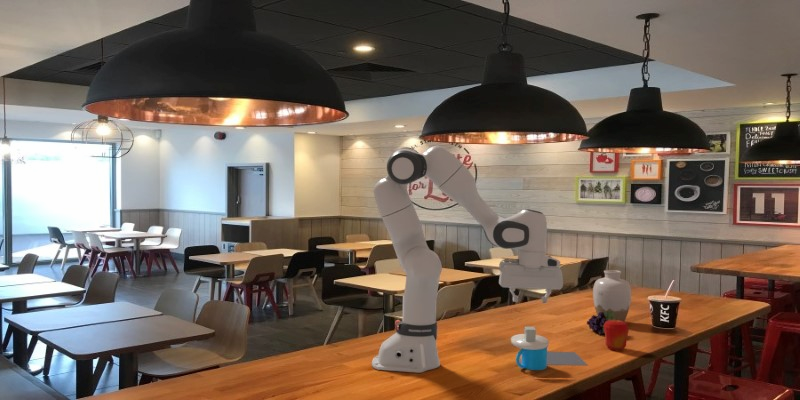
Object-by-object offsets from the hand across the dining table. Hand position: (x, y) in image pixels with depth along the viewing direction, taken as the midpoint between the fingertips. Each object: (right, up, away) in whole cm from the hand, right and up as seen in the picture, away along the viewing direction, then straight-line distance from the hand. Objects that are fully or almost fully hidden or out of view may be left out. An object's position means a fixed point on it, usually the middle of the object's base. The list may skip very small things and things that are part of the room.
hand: (529, 302), depth 199 cm
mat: (+12, -22, +11) cm, 27 cm away
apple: (+37, -22, +26) cm, 50 cm away
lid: (0, -13, 0) cm, 13 cm away
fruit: (+40, -21, +50) cm, 68 cm away
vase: (+50, -21, +69) cm, 88 cm away
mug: (0, -22, +1) cm, 22 cm away
